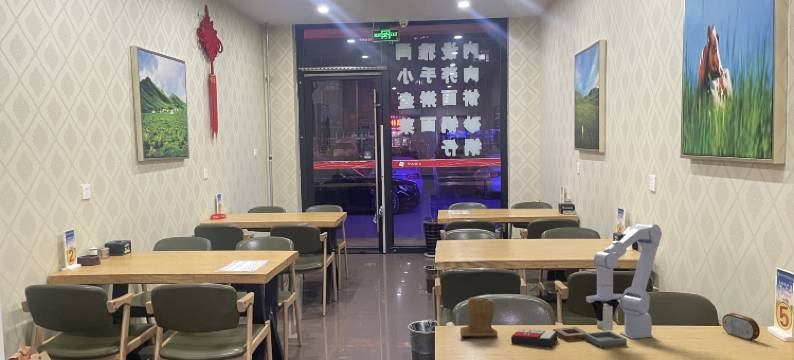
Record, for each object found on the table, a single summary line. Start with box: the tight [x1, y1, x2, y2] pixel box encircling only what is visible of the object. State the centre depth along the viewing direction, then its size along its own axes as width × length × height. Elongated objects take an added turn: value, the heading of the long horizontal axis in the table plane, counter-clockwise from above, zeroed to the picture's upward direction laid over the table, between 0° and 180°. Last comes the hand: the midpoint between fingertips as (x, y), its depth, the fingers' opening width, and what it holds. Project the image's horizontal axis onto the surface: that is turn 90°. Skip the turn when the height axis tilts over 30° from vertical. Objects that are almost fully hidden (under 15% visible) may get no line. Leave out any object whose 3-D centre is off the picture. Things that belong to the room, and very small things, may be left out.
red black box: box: [510, 328, 558, 349], centre depth 239 cm, size 11×4×15 cm
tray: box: [583, 330, 628, 349], centre depth 236 cm, size 11×11×2 cm
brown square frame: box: [552, 326, 588, 342], centre depth 245 cm, size 10×10×2 cm
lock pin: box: [596, 303, 614, 332], centre depth 236 cm, size 4×4×9 cm
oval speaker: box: [721, 312, 761, 341], centre depth 241 cm, size 15×3×8 cm, turn 20°
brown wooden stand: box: [459, 297, 499, 338], centre depth 248 cm, size 15×12×15 cm
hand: (604, 320), depth 236 cm, fingers closed on lock pin, 4 cm apart
